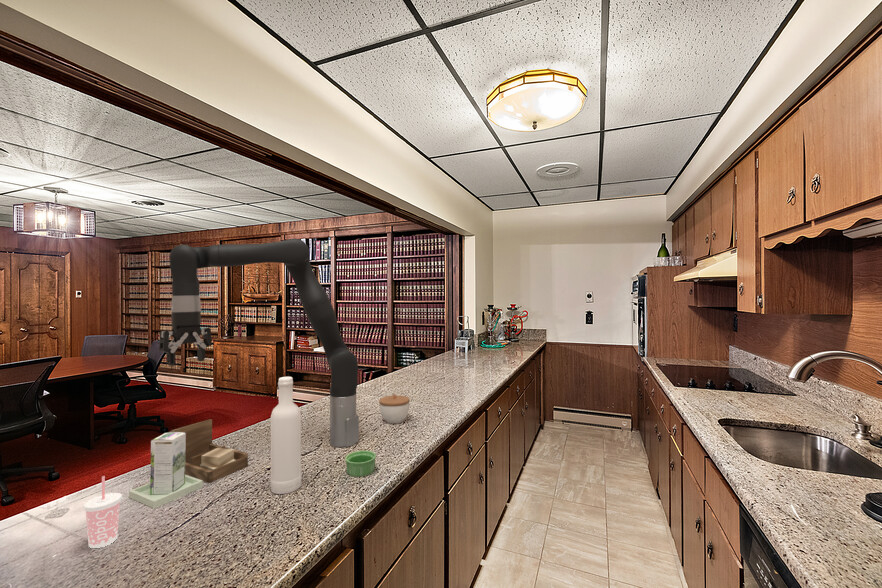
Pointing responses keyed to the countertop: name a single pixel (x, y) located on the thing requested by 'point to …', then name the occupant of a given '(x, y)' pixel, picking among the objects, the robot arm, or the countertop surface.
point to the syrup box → (167, 463)
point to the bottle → (285, 441)
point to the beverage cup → (102, 518)
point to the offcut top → (217, 457)
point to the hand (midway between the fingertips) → (186, 363)
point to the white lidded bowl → (394, 408)
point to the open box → (202, 444)
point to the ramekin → (360, 463)
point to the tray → (157, 500)
